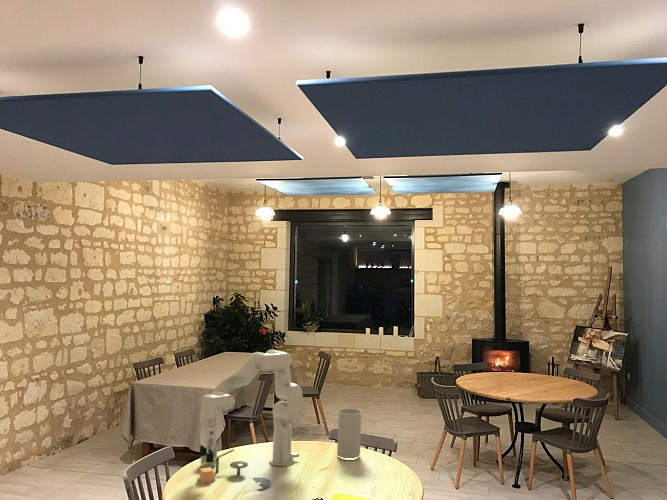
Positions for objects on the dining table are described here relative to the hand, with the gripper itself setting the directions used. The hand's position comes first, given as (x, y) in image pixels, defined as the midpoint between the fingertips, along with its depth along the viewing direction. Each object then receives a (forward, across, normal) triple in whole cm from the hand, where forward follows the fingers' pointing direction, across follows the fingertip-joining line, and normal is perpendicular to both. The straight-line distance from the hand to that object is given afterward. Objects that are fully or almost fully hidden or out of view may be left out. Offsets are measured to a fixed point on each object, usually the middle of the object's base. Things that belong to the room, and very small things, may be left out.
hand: (206, 458), depth 247 cm
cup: (+12, +18, -8) cm, 23 cm away
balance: (+11, +3, -9) cm, 15 cm away
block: (+10, 0, -1) cm, 10 cm away
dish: (+11, -12, -22) cm, 27 cm away
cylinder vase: (+10, +1, -81) cm, 82 cm away
